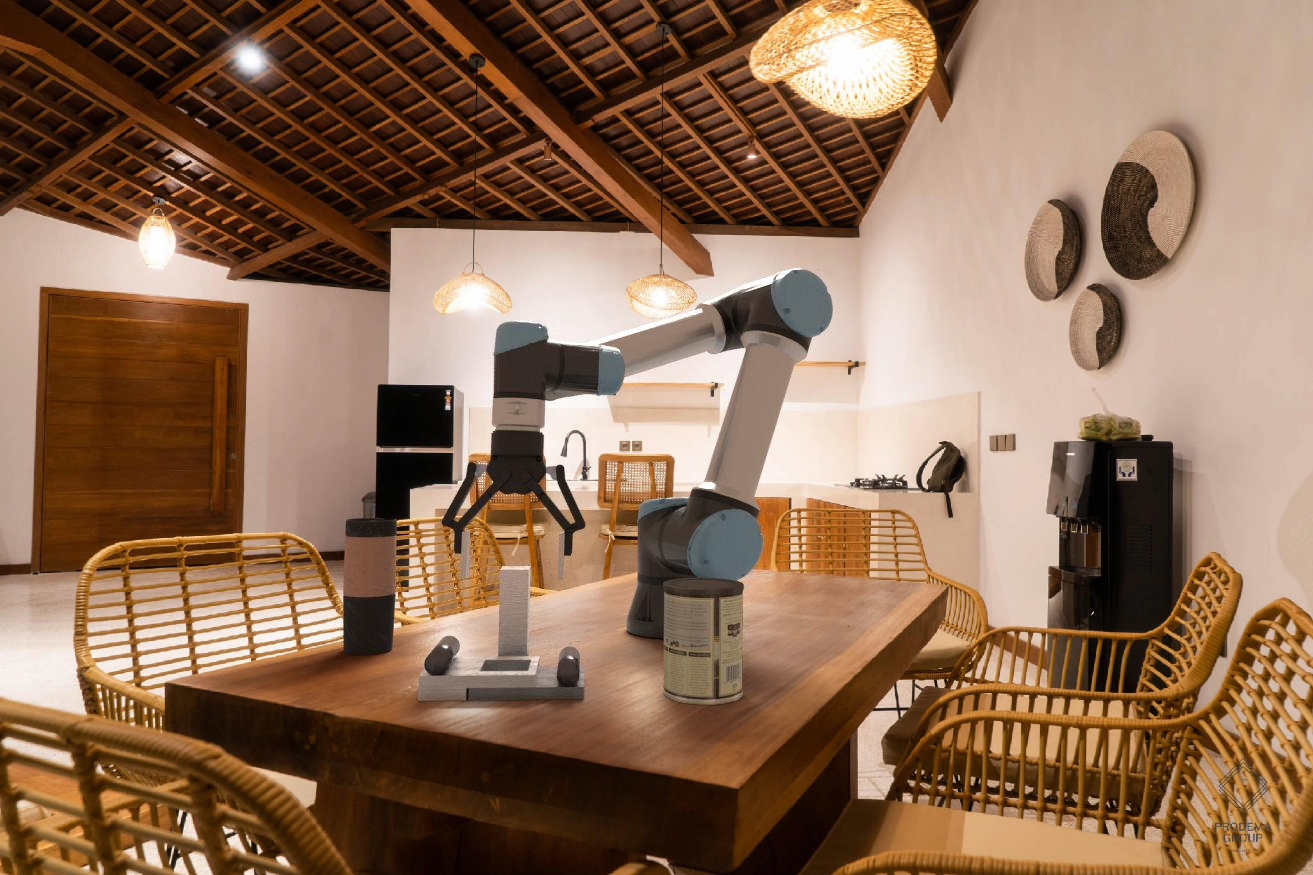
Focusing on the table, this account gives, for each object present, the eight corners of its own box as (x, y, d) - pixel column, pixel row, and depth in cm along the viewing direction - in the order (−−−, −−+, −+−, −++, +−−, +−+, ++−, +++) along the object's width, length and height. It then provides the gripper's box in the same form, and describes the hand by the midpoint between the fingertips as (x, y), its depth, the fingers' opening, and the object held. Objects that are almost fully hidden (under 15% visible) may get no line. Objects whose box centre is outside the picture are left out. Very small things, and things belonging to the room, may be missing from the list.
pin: (528, 662, 120) (530, 566, 120) (526, 669, 116) (528, 569, 116) (500, 663, 119) (502, 566, 120) (497, 669, 116) (499, 569, 116)
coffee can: (673, 680, 111) (674, 575, 112) (748, 687, 108) (750, 579, 109) (652, 701, 101) (653, 585, 102) (735, 708, 99) (736, 590, 99)
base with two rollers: (583, 678, 112) (584, 635, 112) (583, 699, 102) (584, 651, 102) (433, 679, 110) (434, 635, 110) (418, 700, 100) (419, 652, 100)
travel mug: (339, 656, 122) (343, 521, 123) (343, 645, 129) (347, 517, 130) (393, 654, 124) (397, 520, 125) (394, 643, 131) (398, 517, 132)
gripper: (424, 425, 114) (418, 579, 113) (605, 431, 116) (600, 583, 115) (434, 428, 121) (428, 573, 121) (604, 433, 124) (599, 576, 123)
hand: (512, 578), depth 118 cm, fingers open, 13 cm apart
